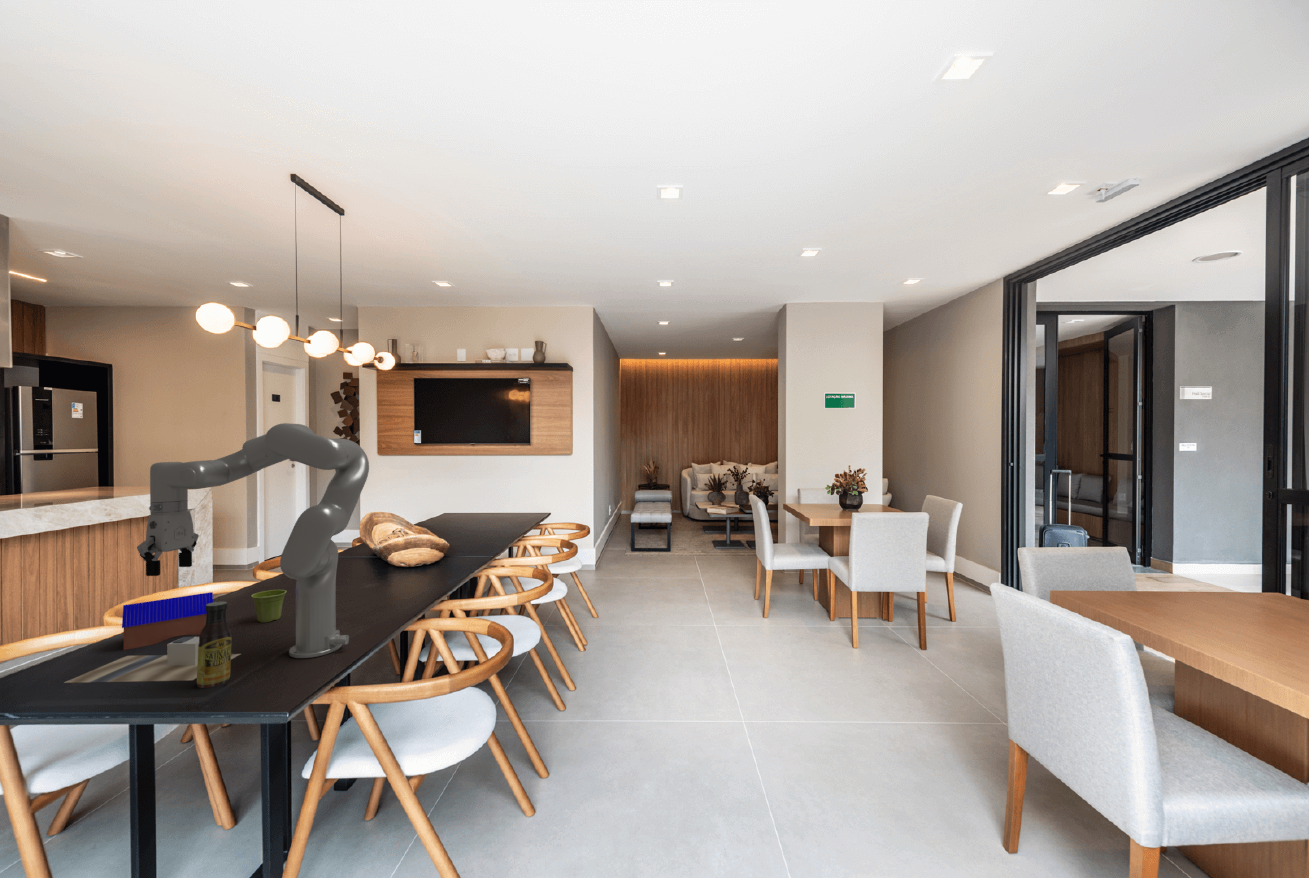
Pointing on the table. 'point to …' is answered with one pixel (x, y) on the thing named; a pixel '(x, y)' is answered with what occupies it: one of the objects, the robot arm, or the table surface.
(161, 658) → the board
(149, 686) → the table surface
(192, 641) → the light grey block
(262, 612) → the plant pot
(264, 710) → the table surface
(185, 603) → the house
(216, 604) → the sauce bottle
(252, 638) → the table surface
